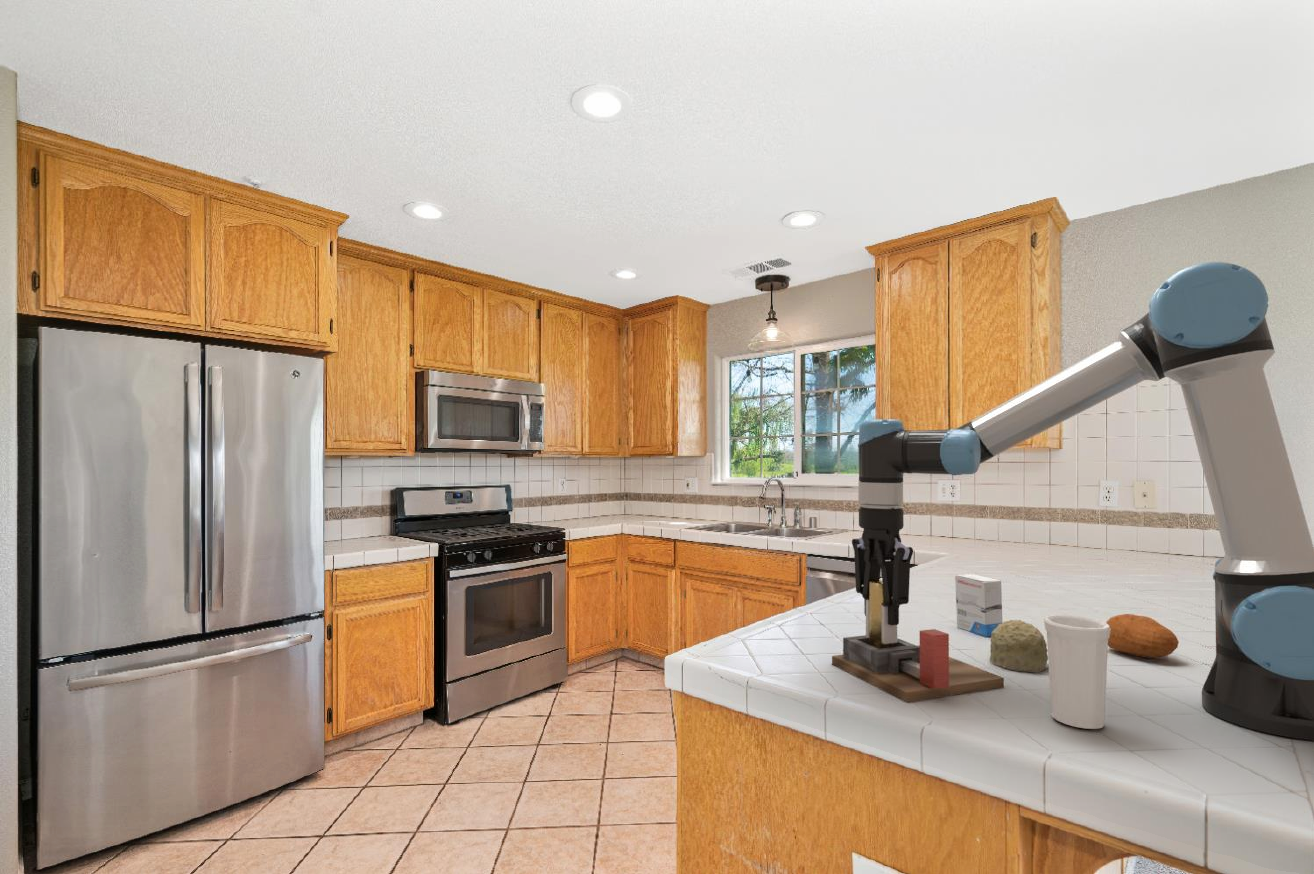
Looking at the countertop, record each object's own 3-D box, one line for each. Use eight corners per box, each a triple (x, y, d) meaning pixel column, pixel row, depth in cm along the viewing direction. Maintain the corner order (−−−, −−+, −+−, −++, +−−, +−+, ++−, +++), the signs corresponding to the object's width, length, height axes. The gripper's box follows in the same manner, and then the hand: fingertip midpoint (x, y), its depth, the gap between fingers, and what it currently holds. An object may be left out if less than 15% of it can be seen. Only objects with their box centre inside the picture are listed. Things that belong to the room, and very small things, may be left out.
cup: (1031, 711, 95) (1030, 614, 95) (1083, 710, 95) (1082, 614, 96) (1070, 735, 87) (1069, 629, 87) (1127, 734, 87) (1125, 628, 88)
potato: (1130, 646, 129) (1130, 608, 129) (1190, 663, 118) (1190, 622, 118) (1095, 649, 126) (1095, 611, 126) (1153, 667, 115) (1153, 626, 116)
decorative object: (1041, 695, 111) (1072, 647, 111) (988, 659, 113) (1019, 612, 113) (1018, 681, 120) (1047, 638, 120) (970, 649, 122) (999, 606, 122)
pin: (949, 686, 100) (948, 633, 100) (933, 688, 99) (933, 635, 99) (903, 666, 109) (903, 618, 109) (889, 668, 108) (889, 619, 108)
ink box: (1004, 635, 135) (1003, 580, 136) (985, 637, 134) (984, 581, 134) (972, 625, 143) (972, 573, 144) (954, 627, 142) (954, 574, 142)
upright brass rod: (898, 652, 111) (898, 583, 111) (879, 655, 110) (879, 585, 110) (882, 646, 115) (882, 579, 115) (864, 648, 113) (864, 581, 114)
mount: (1003, 686, 105) (1003, 656, 105) (906, 702, 98) (906, 669, 98) (919, 653, 123) (919, 627, 123) (832, 664, 116) (832, 636, 116)
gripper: (932, 509, 107) (933, 650, 106) (867, 502, 122) (868, 625, 121) (896, 510, 104) (896, 655, 103) (834, 503, 120) (834, 629, 119)
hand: (881, 639), depth 112 cm, fingers closed on upright brass rod, 3 cm apart
